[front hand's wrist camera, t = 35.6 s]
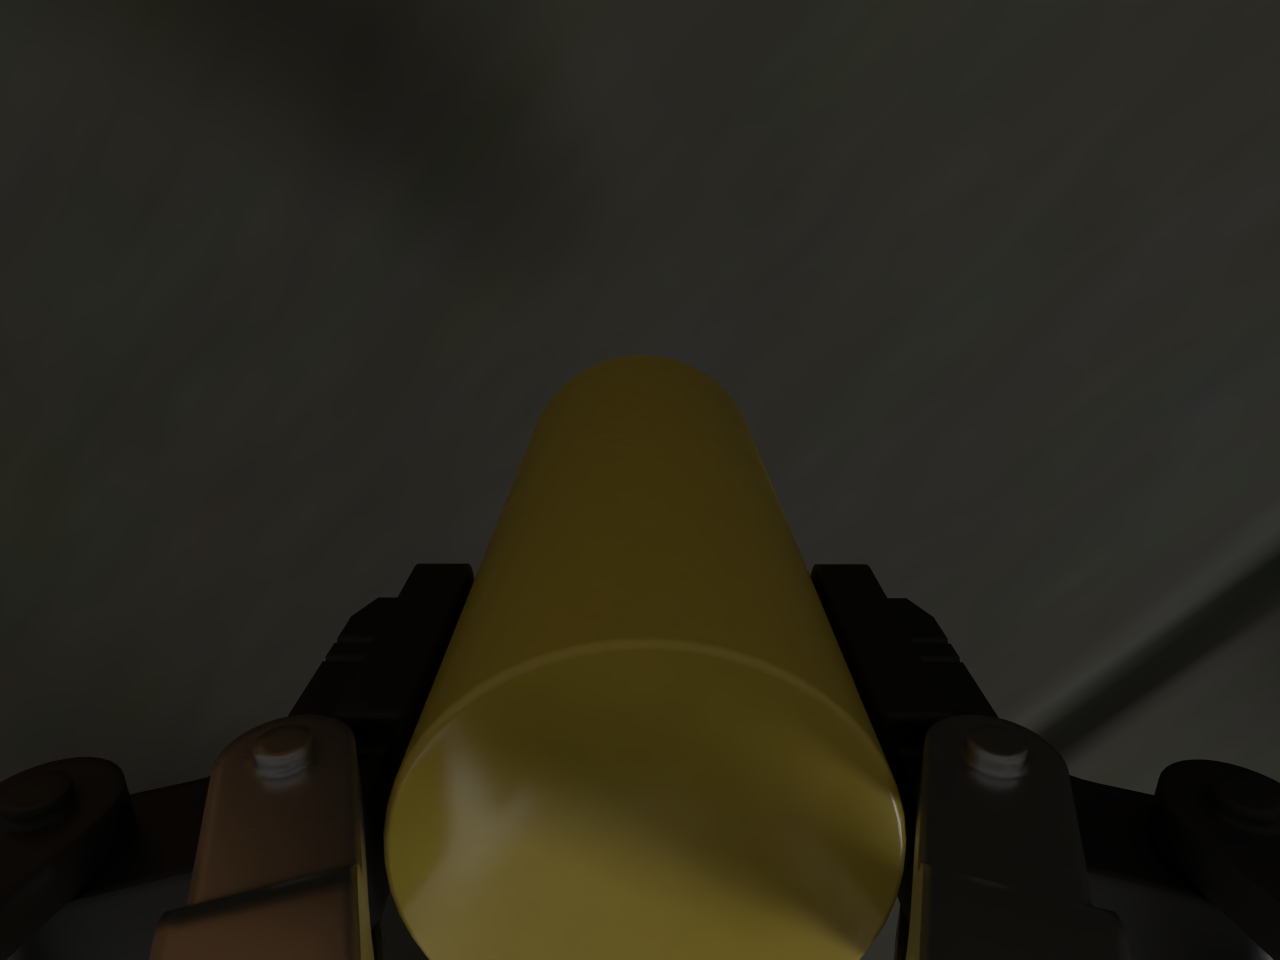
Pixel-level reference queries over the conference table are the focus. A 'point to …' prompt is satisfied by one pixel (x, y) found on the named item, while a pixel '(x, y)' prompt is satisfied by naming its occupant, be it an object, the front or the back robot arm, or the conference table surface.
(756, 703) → the can
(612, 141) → the conference table surface
